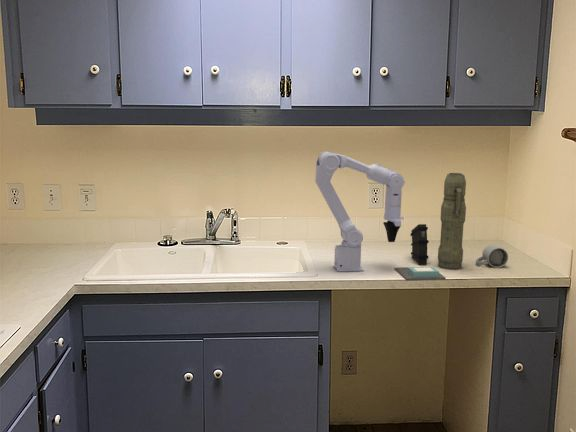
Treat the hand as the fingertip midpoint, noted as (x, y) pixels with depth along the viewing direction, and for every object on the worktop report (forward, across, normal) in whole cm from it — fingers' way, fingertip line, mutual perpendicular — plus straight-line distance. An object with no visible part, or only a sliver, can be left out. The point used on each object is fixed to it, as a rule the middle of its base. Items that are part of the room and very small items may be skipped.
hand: (391, 241), depth 212 cm
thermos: (+10, 0, -23) cm, 25 cm away
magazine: (+10, +9, -14) cm, 20 cm away
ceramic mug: (+10, 0, -39) cm, 41 cm away
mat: (+10, -9, -8) cm, 16 cm away
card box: (+8, -9, -8) cm, 15 cm away
